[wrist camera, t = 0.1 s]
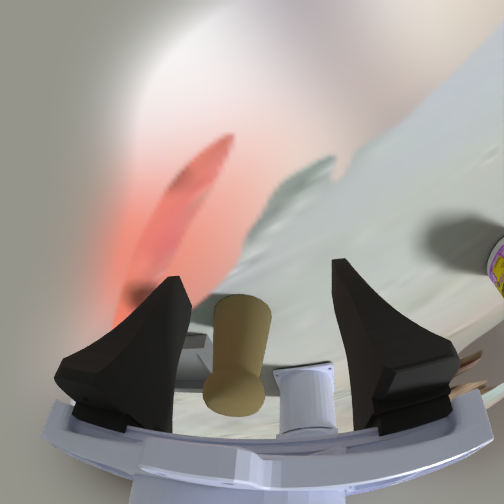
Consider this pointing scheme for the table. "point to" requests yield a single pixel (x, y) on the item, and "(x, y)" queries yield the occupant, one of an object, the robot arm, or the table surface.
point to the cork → (238, 356)
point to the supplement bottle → (497, 266)
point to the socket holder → (194, 364)
